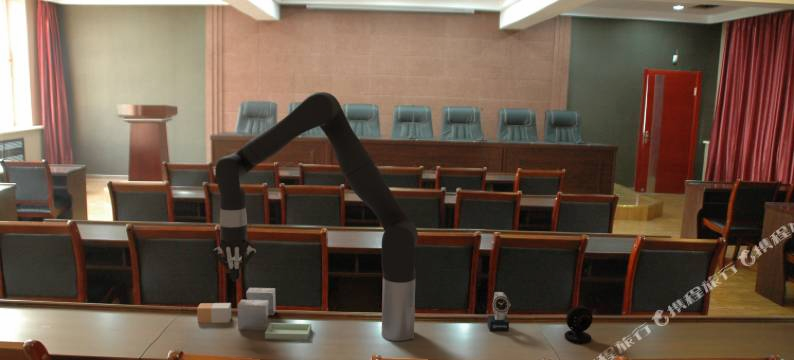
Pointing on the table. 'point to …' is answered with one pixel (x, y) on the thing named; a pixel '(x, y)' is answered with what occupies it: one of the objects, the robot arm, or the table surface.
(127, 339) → the table surface
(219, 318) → the two-tone eraser block
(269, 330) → the tray
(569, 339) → the webcam
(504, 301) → the watch
